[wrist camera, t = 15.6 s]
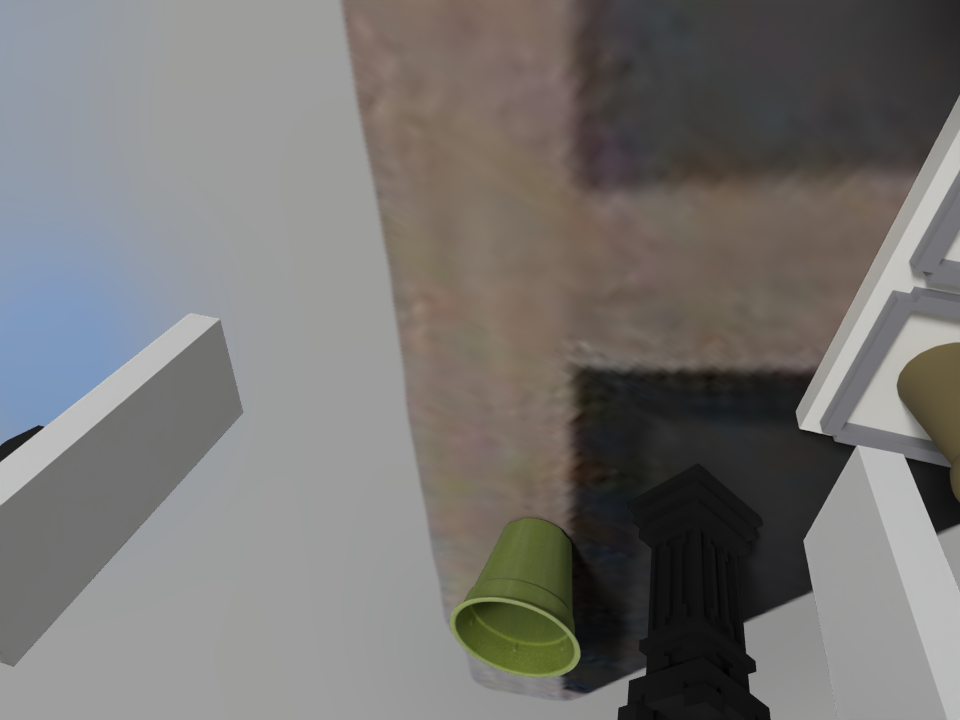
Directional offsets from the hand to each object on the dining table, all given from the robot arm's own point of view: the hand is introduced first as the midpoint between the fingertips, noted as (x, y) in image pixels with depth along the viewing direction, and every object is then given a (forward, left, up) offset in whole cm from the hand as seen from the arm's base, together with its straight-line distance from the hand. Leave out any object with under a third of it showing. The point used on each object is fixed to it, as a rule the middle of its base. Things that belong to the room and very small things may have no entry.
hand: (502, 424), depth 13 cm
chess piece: (+33, +14, -32) cm, 48 cm away
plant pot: (+43, +1, -32) cm, 53 cm away
